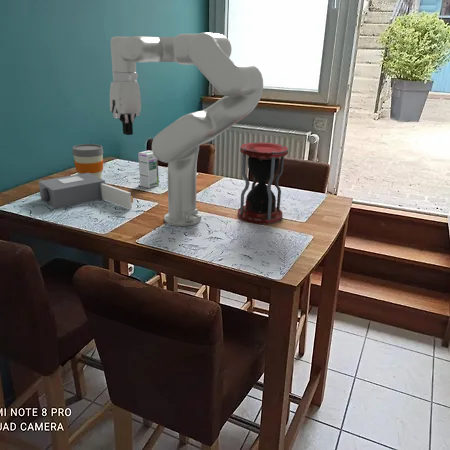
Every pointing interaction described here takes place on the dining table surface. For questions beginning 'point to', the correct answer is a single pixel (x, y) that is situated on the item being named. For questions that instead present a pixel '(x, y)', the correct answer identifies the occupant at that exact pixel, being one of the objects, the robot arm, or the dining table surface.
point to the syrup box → (148, 169)
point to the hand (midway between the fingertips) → (128, 134)
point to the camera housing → (71, 190)
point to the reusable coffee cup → (88, 159)
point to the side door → (116, 196)
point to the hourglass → (262, 182)
